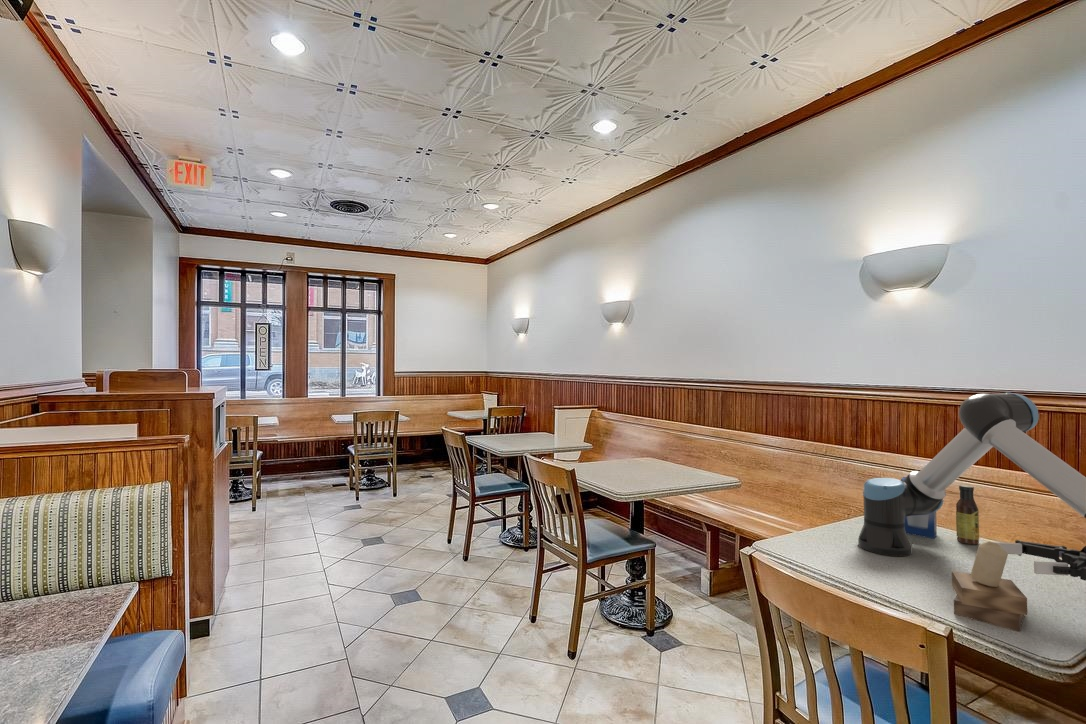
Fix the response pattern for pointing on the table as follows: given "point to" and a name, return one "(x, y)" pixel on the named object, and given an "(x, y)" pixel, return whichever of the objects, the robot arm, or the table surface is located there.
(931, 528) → the milk carton
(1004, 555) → the candle
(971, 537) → the sauce bottle
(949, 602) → the table surface
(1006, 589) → the tower top
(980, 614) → the tower base
